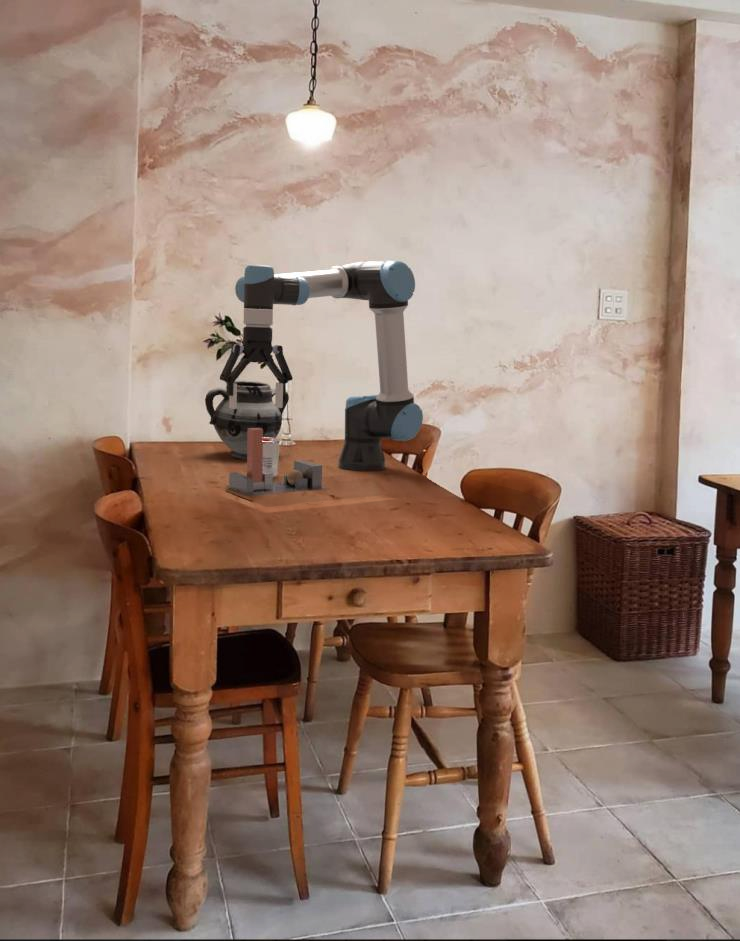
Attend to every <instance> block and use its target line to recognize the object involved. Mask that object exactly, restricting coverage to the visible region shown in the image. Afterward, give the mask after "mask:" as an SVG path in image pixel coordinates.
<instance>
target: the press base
mask: <svg viewBox="0 0 740 941" xmlns="http://www.w3.org/2000/svg"><path fill="white" fill-rule="evenodd" d="M293 470H298V471H300V472H301V473H302V475H303V478H301V479H295V486H293V485H291V484H290V483H289V482H288V480H287V475H288V474H284V475H283V481H275V482H274V481H273V488H272V489H259V490H253V478H250V477H248V476H247V475H245V474H242V473H238V472H229V473H228V486H227V485H225V487H226V488H228V489H230V490H234V491H237V492H239V493H241V494H244V495H246V496H249V497H252V496H263V495H273V494H283V493H285V494H286V493H293V492H304V491H316V490H325V489H328V487H326V486H324V485H323V483H322V482H323V465H322V464H319V463H315V462H311V461H307V460H304V459H299V460H293ZM225 493H227V494H231V495H232V496H236V497H237V498H240V499H243V500H246V501H248V502H252V500H250V499H248V498H245V497H243V496H241V495H238V494H236V493H233V492H230V491H228V490H225Z"/></svg>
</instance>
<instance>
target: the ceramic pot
mask: <svg viewBox="0 0 740 941" xmlns="http://www.w3.org/2000/svg"><path fill="white" fill-rule="evenodd" d="M234 383H236V384H237V409H232V408H229V395H227V385H226V387H225V388H224V387H213V388H212V389H209V390H208V392H207V393H206V395H205V399H204V403H205V408H206V411H207V413H208V415H209V416H210V421H209V425H213V428H214V429H215V431H216V433H217V435H218V437H219V438H220V440H221V441H222V442H223V443H224V445H225V446H226V447H228V449H229V450H230V452H231V453H230V454H231V458H235V459H242V460H247V432H248V428H260V429H263V437H271V438H278V435H279V433H280V431H281V428H282V424H283V420H284V419H283V413H284V410H285V409H286V407H287V405H288V403H289V400H290V398H289V397H290V396H289V393H288V391H287V390H286V392H285V395H283V408H278V407H275V401H273V397H274V396H275V391H276V386H273V387H271V386H270V385H271V384H269V383H268V382H260V381H253V380H235V382H234ZM216 396H222V397H223V399H222V400H221V401H220V402H219V403H218V405H217V406H216V408H215V407H214V399H215V397H216Z"/></svg>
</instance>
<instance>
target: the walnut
mask: <svg viewBox="0 0 740 941" xmlns="http://www.w3.org/2000/svg"><path fill="white" fill-rule="evenodd" d="M286 475H287V480H288V482H289V483H290V484H291V485H293V486H295V479H301V478H303V475H302V473H301V472H300V471H298V470H294V469H293V470H291V471H289V472H288V474H286Z"/></svg>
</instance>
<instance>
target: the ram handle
mask: <svg viewBox="0 0 740 941" xmlns="http://www.w3.org/2000/svg"><path fill="white" fill-rule="evenodd" d="M262 466H263V429H260V428H248V432H247V459H246V476H248V477H250V478H253V490H259V489H272V488H273V482H274V481H273V480H274V477H273V474H272V473H269V472H266V471H262Z"/></svg>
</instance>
